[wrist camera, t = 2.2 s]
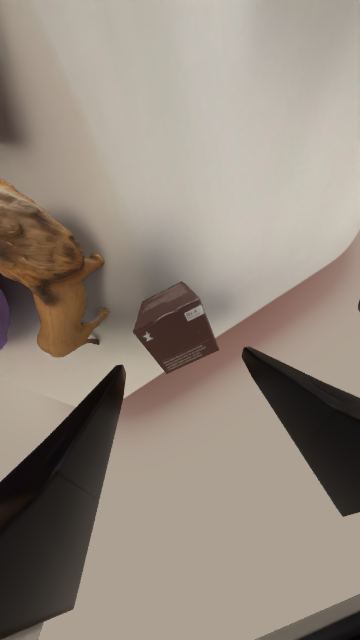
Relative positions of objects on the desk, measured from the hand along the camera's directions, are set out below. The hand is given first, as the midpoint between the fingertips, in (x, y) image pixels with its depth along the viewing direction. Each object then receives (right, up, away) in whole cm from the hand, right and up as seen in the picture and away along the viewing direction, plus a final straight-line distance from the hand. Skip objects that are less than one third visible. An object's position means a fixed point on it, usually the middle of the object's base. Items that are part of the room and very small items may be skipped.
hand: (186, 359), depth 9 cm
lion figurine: (-12, +7, +5) cm, 14 cm away
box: (-2, +4, +8) cm, 10 cm away
